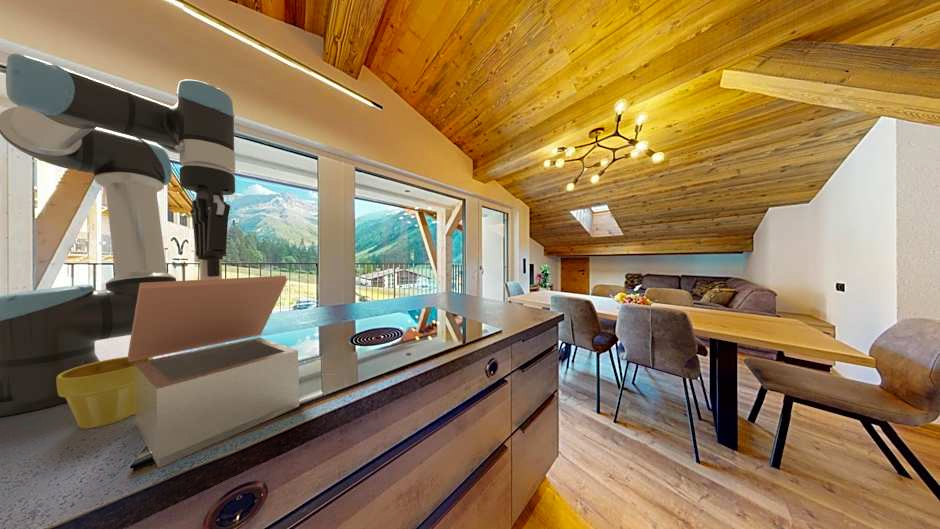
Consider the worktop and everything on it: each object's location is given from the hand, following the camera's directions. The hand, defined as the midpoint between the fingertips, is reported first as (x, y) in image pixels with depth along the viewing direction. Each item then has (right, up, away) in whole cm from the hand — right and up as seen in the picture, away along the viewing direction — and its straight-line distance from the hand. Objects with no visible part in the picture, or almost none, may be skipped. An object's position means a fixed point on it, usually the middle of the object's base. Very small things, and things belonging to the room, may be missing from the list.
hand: (211, 293), depth 51 cm
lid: (+1, -4, -1) cm, 5 cm away
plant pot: (-16, -23, -2) cm, 28 cm away
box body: (+4, -22, -2) cm, 23 cm away
